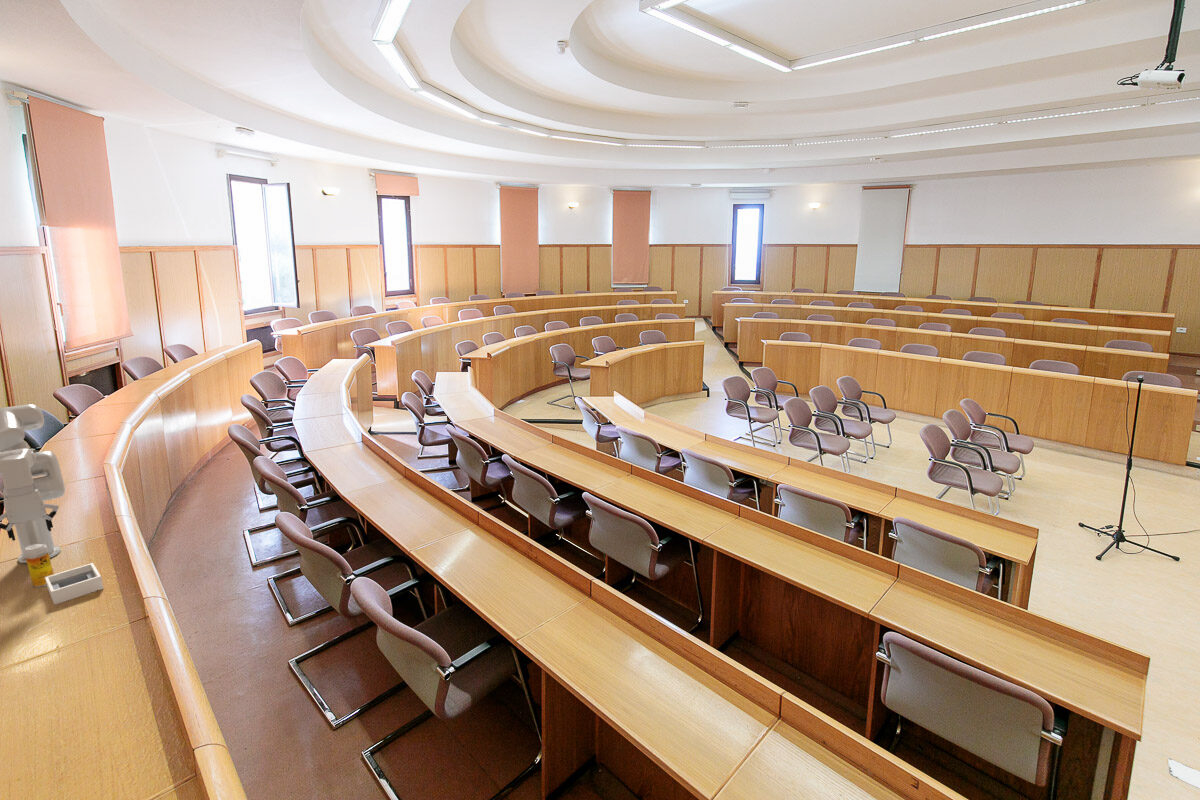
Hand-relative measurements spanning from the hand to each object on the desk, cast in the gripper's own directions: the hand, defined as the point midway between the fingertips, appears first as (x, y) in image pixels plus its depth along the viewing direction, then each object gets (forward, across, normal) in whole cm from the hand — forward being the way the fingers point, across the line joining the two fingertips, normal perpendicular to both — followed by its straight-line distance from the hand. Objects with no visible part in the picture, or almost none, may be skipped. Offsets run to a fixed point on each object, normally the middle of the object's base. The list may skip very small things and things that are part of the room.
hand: (31, 534), depth 220 cm
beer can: (+20, 0, 0) cm, 20 cm away
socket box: (+20, -7, +13) cm, 25 cm away
